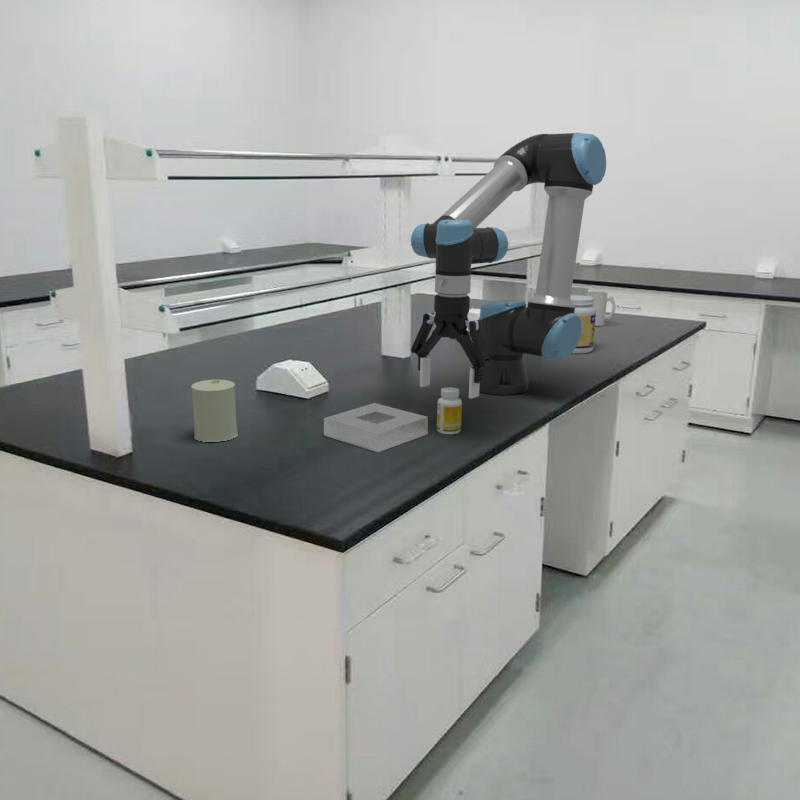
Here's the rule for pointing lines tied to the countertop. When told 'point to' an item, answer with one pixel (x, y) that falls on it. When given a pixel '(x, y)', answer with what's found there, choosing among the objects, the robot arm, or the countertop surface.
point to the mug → (601, 306)
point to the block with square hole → (375, 427)
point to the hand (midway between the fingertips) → (448, 391)
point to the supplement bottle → (449, 411)
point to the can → (214, 410)
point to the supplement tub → (585, 322)
